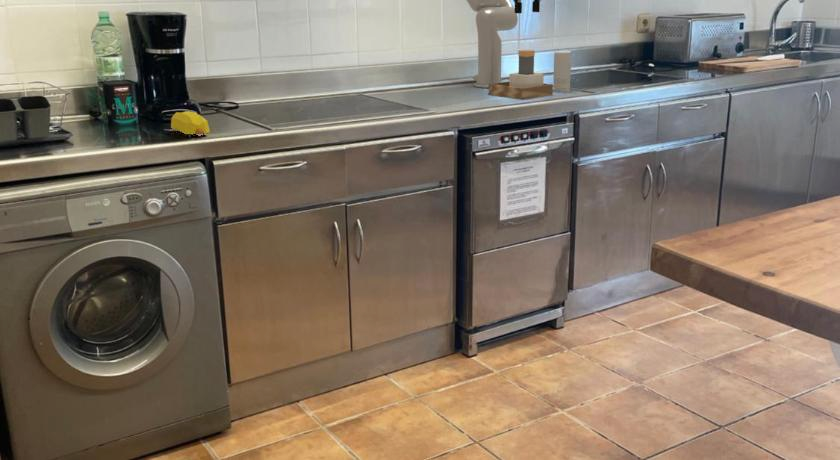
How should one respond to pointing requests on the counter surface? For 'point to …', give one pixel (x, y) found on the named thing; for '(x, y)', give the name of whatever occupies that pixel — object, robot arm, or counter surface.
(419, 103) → the counter surface
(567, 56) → the skincare box
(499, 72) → the robot arm
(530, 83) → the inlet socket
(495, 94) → the crate
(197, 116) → the yellow lump
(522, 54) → the square peg
